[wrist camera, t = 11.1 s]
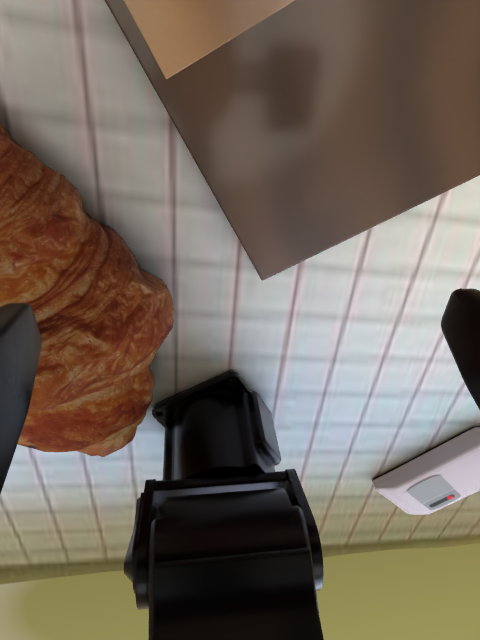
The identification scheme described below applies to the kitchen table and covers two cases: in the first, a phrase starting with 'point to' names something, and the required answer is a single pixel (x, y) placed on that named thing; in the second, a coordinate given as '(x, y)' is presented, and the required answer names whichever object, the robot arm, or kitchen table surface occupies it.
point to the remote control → (435, 476)
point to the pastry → (77, 311)
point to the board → (315, 109)
